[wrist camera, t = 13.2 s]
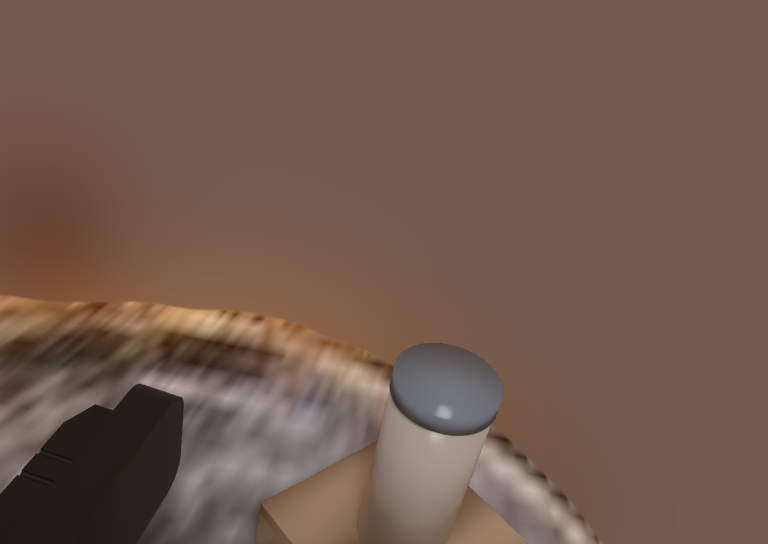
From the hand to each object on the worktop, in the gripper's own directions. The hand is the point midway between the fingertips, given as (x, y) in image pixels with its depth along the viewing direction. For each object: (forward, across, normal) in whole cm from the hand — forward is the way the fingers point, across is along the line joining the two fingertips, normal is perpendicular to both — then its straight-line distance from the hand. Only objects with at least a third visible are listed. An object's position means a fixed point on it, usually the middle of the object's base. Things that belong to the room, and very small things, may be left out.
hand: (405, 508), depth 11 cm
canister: (+17, -2, +23) cm, 28 cm away
